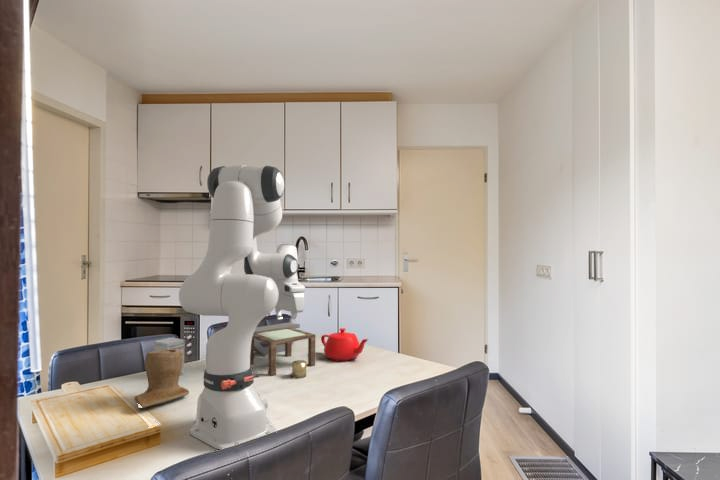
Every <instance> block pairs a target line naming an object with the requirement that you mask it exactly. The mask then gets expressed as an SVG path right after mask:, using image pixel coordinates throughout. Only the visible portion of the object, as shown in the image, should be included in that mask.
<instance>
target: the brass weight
mask: <svg viewBox="0 0 720 480" xmlns="http://www.w3.org/2000/svg"><path fill="white" fill-rule="evenodd" d="M291 365H292V366H291V367H292V369H291V370H292V374H291V377H292V378H293V379H304V378H306V377H307V361H306V360H302V359H301V360H300V359H299V360H297V359H296V360H294V361H292V364H291Z"/></svg>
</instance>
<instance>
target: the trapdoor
mask: <svg viewBox="0 0 720 480" xmlns="http://www.w3.org/2000/svg"><path fill="white" fill-rule="evenodd" d="M257 335H260V336H262V337H265V338H268V339H271V340H280V339H285V338H291V337H297V336H303V335H306V334H303V333H299V332H296V331H293V330H289V329H283V330H277V331H270V332H264V333H257Z"/></svg>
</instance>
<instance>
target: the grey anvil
mask: <svg viewBox="0 0 720 480" xmlns="http://www.w3.org/2000/svg"><path fill="white" fill-rule="evenodd" d="M287 327H291V328H294V329H300V328H301V325H300V324H299V323H296V322H295V323H294V324H291V323H290V322H289V321H288V322H282V323H275V324H269V325H262V326H257V327H256V329H255V331H254V332H260V331H267V330H273V329H280V328H287ZM261 343H263V342H262V341H259V340H257V339H254V353H257V354H259V355H262V356H269V344H267V343H263V344H261ZM294 343H295V341H292V345H293V344H294ZM282 352H283V353H285V343H281V344H276V354H279V353H282Z"/></svg>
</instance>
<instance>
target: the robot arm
mask: <svg viewBox="0 0 720 480" xmlns="http://www.w3.org/2000/svg"><path fill="white" fill-rule="evenodd" d="M206 183H207V184H206V185H207V190H208V193H209V194H210V196H211V197H212V204H211V211H210V223H209V224H210V225H209V238H208V245H207V250H206V254H205V256H204V258H203V261H202V262H201V264H200V266H199V267H198V268H197V269H196V270H195V271H194V272H193V273H192V274H191V275H190V276H188V277H187V278H186V279H184V281H183V283H182V284H181V286H179V287H180V288H179V291H178V300H179V304H180V306H181V307H182V309H183V310H184V311H185V312H186V313H191V314H195V315H199V316H202V317H203V316H204V317H205V316H207V317H208V316H210V317H213V316H215V317H219V316H220V317H222V316H224V317H228V320H227V324H226V327H224V328H221V329H219V330H217V331H215V332H214V333H212V335H210V337H209V338H208V339H207V342H206V345H205V369H204V372H203V377H202V379H203V386H204V388H203V389H202V391H201V393H200V394H199V396H198V398H197V403H196V416H195V418H196V419H195V425H193V426H192V427H191V428H189V429H190V430H189V434H190V435H191V436H192V437H195V438H196V439H197V440H199V441H201V442H203V443H205V444H208V445H209V446H210V447H212V448H215V449H216V448H217V449H216V450H218V449H222V448H226V447H230V446H233V445H236V444H239V443H242V442H246V441H249V440H251V439H254V438H257V437H260V436H263V435H266V434H268V433H272V432H274V431H276V432H277V428H276V427H275V426H274V424H272V422H271V421H270V419H269V418H268V417H267V409H268V406H269V405H268V401H267V399H262V397H261V395H260V391H258V390H257V389H256V386H255V384H254V378H255V377H254V376H253V374H254V372H253V369H252V366H251V365H250V353H251V342H252V337H253V333H254V331H255V329H256V327H258V325H259V324H260V322H262V320H263V319H264V318H265V317H266V316H268V315H269V314H271V312H272V311H273V310H274V311H275V315H276V320H277V321H283V317H284V315H282V311H286V312H290V318H289V319H288V322H290V323H291V324H294V323H296V319H297V317H298V314H299V313H303V312H304V310H305V293H304V292H305V291H306V287H305V285H304V284H302V283H301V282H300V281H299V277H298V269H299V257H298V248H297V247H296V246H295V245H293V244H286V243H283V244H279V245H277V247H276V252H273V253H271V252H265V253H264V252H260V251H259V250H258V244H257V243H258V242H257V237H258V236H260V235H263V234H266V233H269V232H271V231H273V230H274V229H276V228H277V227H278V226H279V224H280V223H281V221H282V219H283V208H282V204H281V202H282V201H281V198H282V197H283V194H284V191H285V190H284V189H285V180H284V176H283V174H282V171H280V170H279V168H277V167H275V166H271V165H265V166H262V165H246V164H238V165H237V164H236V165H230V166H225V165H221V166H218V167H215V168H212V170H211V171H210V172H209V174H208V176H207V182H206ZM241 260H243V270H244V274H243V273H233V274H232V270H233V269H232V268H233V267H234V265H235V264H236V263H237V262H240V261H241ZM253 377H254V378H253Z"/></svg>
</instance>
